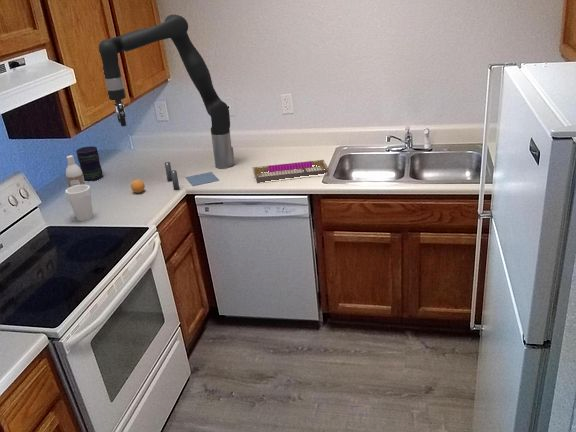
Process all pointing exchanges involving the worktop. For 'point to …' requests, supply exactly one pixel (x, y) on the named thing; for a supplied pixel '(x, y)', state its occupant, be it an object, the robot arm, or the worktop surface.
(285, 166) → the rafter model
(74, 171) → the bath foam
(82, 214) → the foam cup
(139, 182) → the ball
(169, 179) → the post
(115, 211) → the worktop surface
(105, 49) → the robot arm
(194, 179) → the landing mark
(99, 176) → the storage jar
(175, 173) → the post
